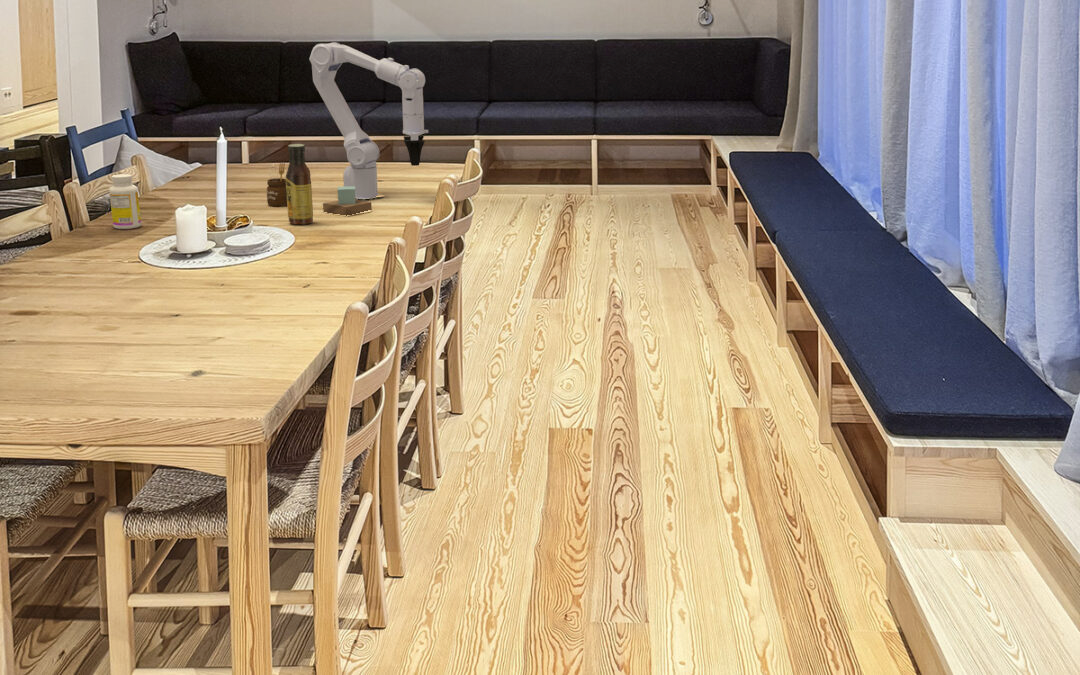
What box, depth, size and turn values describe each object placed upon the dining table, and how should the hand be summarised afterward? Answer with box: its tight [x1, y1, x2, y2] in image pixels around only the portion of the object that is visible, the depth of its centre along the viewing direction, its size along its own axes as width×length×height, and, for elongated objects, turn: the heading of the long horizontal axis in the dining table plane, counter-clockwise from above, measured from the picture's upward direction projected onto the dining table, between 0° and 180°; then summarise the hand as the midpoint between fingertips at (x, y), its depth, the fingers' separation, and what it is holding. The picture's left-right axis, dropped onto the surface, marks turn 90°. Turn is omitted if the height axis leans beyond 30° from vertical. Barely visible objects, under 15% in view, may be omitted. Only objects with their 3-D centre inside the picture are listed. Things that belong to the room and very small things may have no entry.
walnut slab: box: [322, 199, 373, 217], centre depth 296 cm, size 9×9×3 cm
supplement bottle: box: [108, 173, 142, 230], centre depth 274 cm, size 7×7×13 cm
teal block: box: [337, 186, 356, 205], centre depth 295 cm, size 4×4×4 cm
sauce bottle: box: [285, 143, 314, 226], centre depth 279 cm, size 6×6×20 cm
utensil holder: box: [266, 162, 287, 208], centre depth 303 cm, size 6×6×12 cm
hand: (414, 163), depth 310 cm, fingers open, 7 cm apart
